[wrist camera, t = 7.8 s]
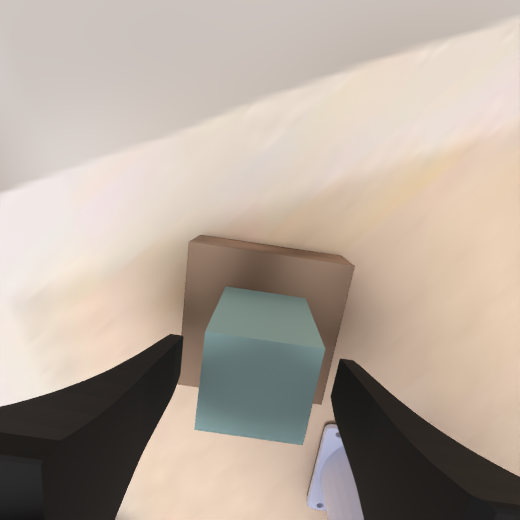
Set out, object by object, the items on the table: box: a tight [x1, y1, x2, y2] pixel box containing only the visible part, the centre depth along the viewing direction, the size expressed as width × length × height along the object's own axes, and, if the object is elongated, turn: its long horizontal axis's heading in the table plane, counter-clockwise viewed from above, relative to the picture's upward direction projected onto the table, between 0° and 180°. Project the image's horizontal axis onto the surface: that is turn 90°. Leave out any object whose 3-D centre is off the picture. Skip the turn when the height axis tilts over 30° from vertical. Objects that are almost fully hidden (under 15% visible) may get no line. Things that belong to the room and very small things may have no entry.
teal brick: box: [194, 286, 325, 445], centre depth 13 cm, size 4×4×5 cm
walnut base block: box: [178, 235, 354, 404], centre depth 16 cm, size 9×9×2 cm
